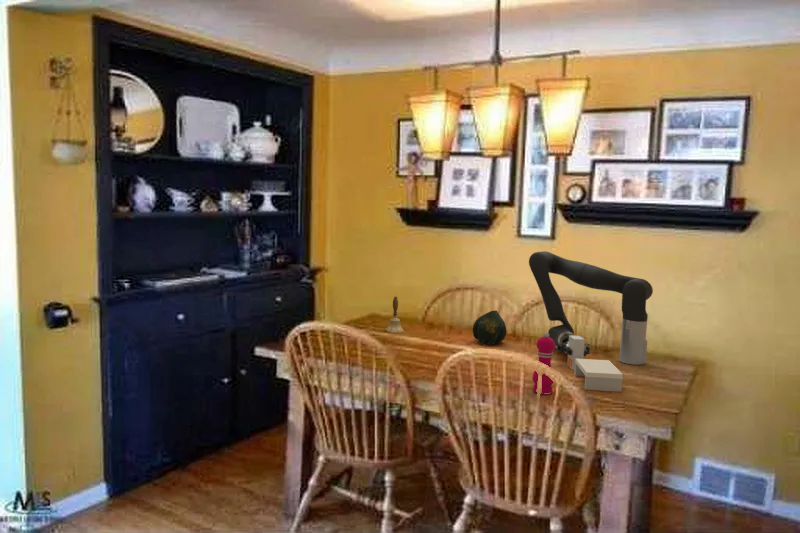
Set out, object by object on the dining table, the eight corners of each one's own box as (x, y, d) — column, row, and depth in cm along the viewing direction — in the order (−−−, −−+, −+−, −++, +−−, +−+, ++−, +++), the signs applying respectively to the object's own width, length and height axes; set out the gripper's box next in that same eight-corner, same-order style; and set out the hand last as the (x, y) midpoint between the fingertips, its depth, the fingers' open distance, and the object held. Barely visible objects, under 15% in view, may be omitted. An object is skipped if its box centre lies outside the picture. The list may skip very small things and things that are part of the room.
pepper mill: (554, 396, 208) (558, 335, 206) (531, 393, 210) (535, 333, 207) (553, 389, 215) (557, 331, 213) (531, 387, 217) (535, 329, 214)
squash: (463, 331, 273) (488, 307, 270) (469, 326, 288) (493, 303, 284) (487, 356, 271) (512, 332, 268) (491, 349, 286) (516, 326, 282)
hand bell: (403, 333, 291) (404, 298, 289) (385, 332, 291) (386, 297, 289) (403, 329, 299) (405, 295, 297) (385, 328, 299) (387, 294, 297)
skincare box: (566, 365, 246) (568, 335, 245) (577, 365, 246) (579, 335, 245) (572, 370, 240) (574, 338, 239) (583, 370, 240) (585, 339, 239)
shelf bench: (607, 376, 234) (609, 360, 233) (621, 391, 216) (622, 374, 215) (574, 374, 234) (575, 358, 234) (585, 389, 217) (586, 372, 216)
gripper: (551, 332, 257) (559, 342, 240) (587, 334, 256) (598, 344, 239) (550, 350, 257) (557, 361, 241) (586, 352, 257) (596, 363, 240)
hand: (577, 353), depth 240 cm, fingers closed on skincare box, 4 cm apart
